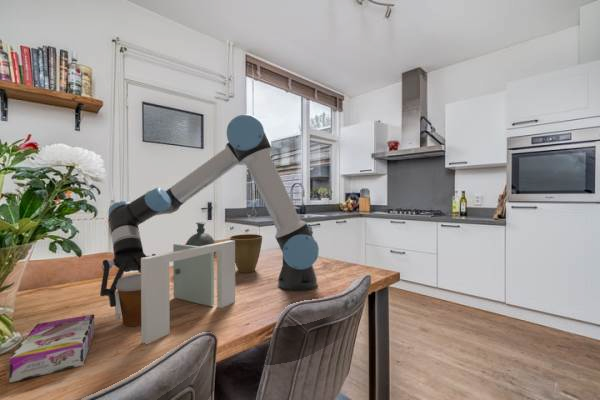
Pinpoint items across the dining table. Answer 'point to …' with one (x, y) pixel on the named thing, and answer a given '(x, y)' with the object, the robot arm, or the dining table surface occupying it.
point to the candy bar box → (52, 348)
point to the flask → (200, 237)
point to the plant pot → (247, 251)
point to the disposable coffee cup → (130, 299)
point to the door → (194, 277)
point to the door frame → (157, 285)
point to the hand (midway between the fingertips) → (139, 311)
